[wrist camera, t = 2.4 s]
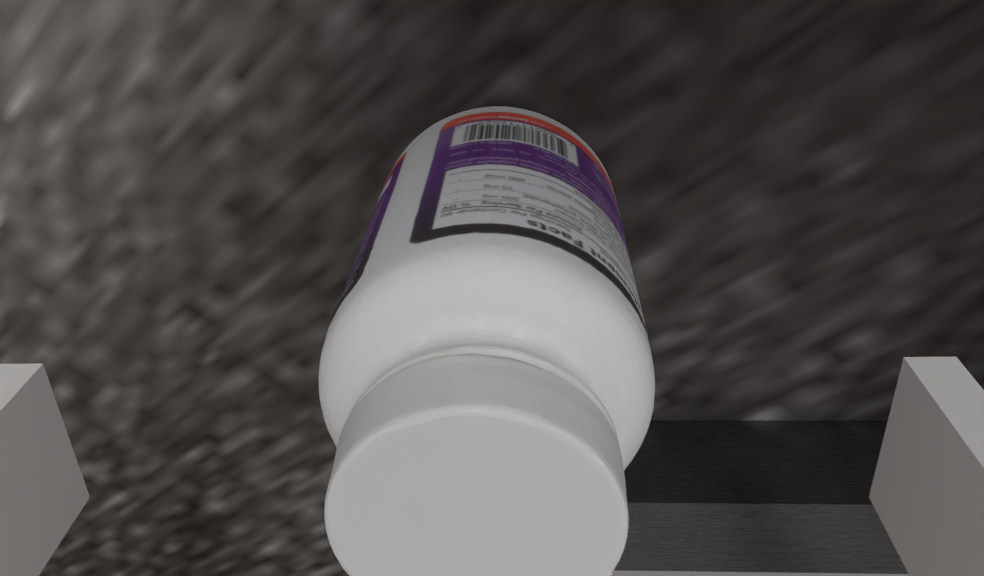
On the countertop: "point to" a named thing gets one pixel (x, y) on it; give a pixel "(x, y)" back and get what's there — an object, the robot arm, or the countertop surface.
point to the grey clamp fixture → (756, 501)
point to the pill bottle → (487, 361)
